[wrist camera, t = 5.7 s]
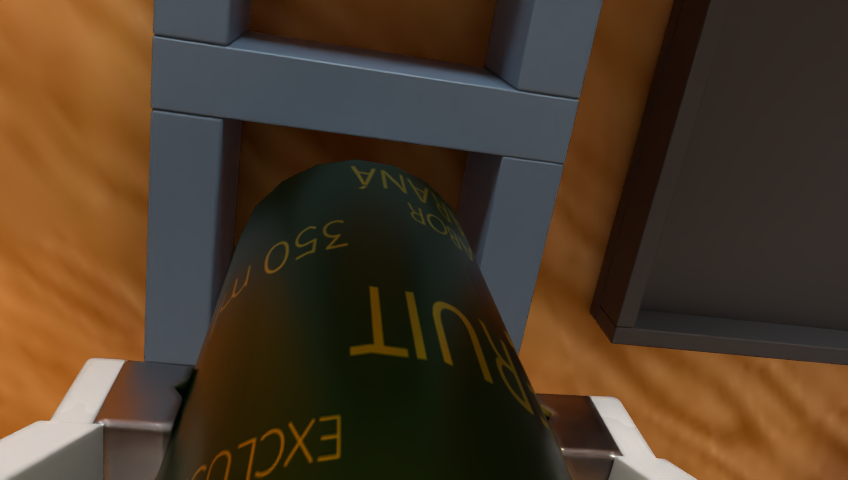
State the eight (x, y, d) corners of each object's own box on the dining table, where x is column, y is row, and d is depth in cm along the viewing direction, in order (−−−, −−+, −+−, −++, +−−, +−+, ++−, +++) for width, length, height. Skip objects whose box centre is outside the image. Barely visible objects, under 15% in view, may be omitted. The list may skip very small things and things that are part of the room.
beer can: (375, 390, 18) (430, 1051, 7) (194, 282, 17) (-88, 932, 6) (509, 236, 17) (817, 752, 6) (328, 102, 15) (302, 482, 4)
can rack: (205, -349, 16) (164, -443, 12) (607, -253, 18) (678, -310, 14) (174, 340, 22) (141, 415, 19) (474, 366, 24) (498, 439, 20)
